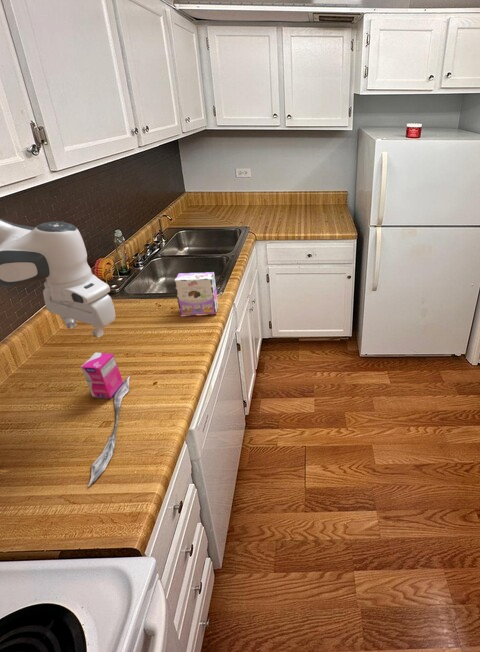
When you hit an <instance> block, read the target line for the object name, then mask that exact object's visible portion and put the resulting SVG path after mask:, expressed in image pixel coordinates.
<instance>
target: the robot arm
mask: <svg viewBox="0 0 480 652" xmlns="http://www.w3.org/2000/svg"><path fill="white" fill-rule="evenodd" d="M43 280H45V282H44V283H43V286H44V289H43V292H42V294H43V300H44V304H45V309H46V310H47V311H48V312H49V313H50V314H54V315H58V316H59V317H60V319H61V320H62V321H63V322H64V323H65V326H66V328H67V329H69V330H74V329H75V328H77V327H78V323H77V322H80V323H84V324H86V325H89V326H92V328H94V329H93V330H92V331H91V333H92V336H93V337H94V338H97V339H98V338H99V339H100V338H101V337H103V336H104V328H107V327H108V326H109V325H110V324H112V323H114V322H115V320H116V311H115V305H114V303H113V299H112V297H111V296H110V295H109V294H108V293H110V292H111V287H110V285H109V284H108V283H106V282H105V281H103V280H101V279H100V278H98V276H96V275H95V274H93V272H92V268H91V266H90V265H89V263H88V252H87V249H86V245H85V241H84V239H83V237H82V233H81V232H80V231H79V229H78V228H77V227H76V226H75V225H74V224H72V223H69V222H65V221H49V222H43V223H40V224H38V225H36V227H35V226H29V225H22V224H17V223H13V222H11V221H7V220H5V219H3V218H0V286H2V287H5V288H19V287H23V286H27V285H30V284H34V283H37V282H41V281H43Z"/></svg>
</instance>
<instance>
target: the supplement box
mask: <svg viewBox="0 0 480 652" xmlns="http://www.w3.org/2000/svg"><path fill="white" fill-rule="evenodd" d="M80 369H81V372H82V374H83V375H84V379H85V380H86V384H87V387H88V389H89V391H90V394H91V396H92V398H98V399H107V400H111V399H112V398H114V396H115V394H116V392H117V391H118V390H119V388H120V387H121V386H122V385H123V382H124V380H123V377H122V375H121V374H122V373H121V372H120V369H119V366H118V363H117V360H116V358H115V354H114V353H109V352H107V353H106V352H94V353H93V355H91V356H90V358H88V359H87V360H86V361H85V362H84V363H83V364H82V365H80Z"/></svg>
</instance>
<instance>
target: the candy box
mask: <svg viewBox="0 0 480 652" xmlns="http://www.w3.org/2000/svg"><path fill="white" fill-rule="evenodd" d="M215 275H216V274H215V271H210V272H209V271H205V272H180V273H178V274H177V275H176V277H175V279H174V280H173V282H174V287H175V288H174V289H175V293H176V298H177V305H178V310H179V311H178V312H179V317H182V318H186V317H187V316H180V315H196V314H216V315H217V313H218V310H219V300H218V291H217V285H216V284H217V283H216V277H215ZM217 309H218V310H217ZM216 312H217V313H216ZM205 316H208V315H197V316H196V317H205Z"/></svg>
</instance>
